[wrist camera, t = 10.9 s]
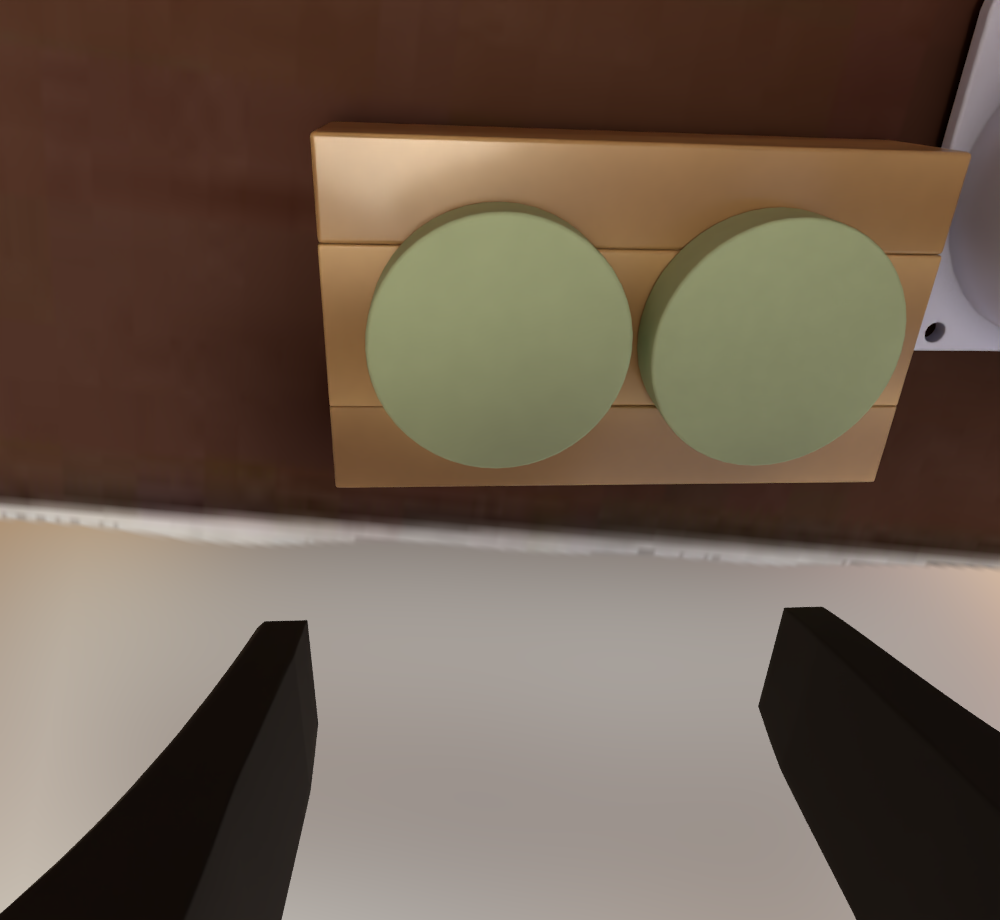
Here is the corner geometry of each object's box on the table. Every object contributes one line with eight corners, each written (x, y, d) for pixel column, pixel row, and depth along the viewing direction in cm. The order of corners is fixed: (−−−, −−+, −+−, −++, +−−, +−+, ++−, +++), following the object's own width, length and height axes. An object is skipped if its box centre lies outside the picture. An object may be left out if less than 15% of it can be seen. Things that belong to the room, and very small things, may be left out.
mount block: (328, 120, 16) (308, 131, 13) (891, 139, 17) (975, 152, 15) (348, 431, 20) (335, 488, 17) (817, 429, 21) (874, 482, 18)
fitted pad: (838, 190, 18) (942, 220, 14) (791, 395, 20) (869, 466, 16) (620, 184, 17) (670, 214, 14) (598, 395, 19) (636, 467, 16)
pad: (604, 184, 17) (649, 214, 14) (584, 396, 19) (618, 468, 16) (372, 178, 17) (358, 208, 13) (381, 396, 19) (370, 471, 15)
